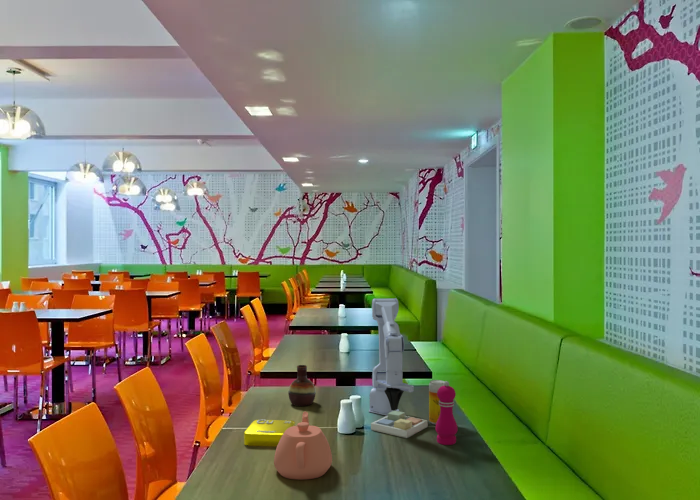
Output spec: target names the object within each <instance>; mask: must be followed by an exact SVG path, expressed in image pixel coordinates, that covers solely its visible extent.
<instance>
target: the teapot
mask: <svg viewBox="0 0 700 500" xmlns="http://www.w3.org/2000/svg"><path fill="white" fill-rule="evenodd" d="M301 418H302V419H301V421H300V422H298V423H297V424H296V425H295V426H292V427H290V428H288V429H287V430H286V431H285V432H284V434H283V435H282V437H281V439H280V441H279V443H278V445H277V447H276V449H275V453H274V457H273V464H274V469H276V471H277V472H278V474H279V475H280V476H282V477H283V478H286V479H289V480H311V479H312V480H313V479H317V478H321V477H322V476H323V475H325V474H326V473H327V472H328V470H329V469H330V467H331V466H332V464H333V455H332V450H331V446H330V443H329V441H328V439H327V437H326V435H325V433H324V432H323V430H322V429H321V428H320V427H319V426H317V425H316V426H315V425H310V423H309V422H310V421H309V412H308V411H303V412H302V416H301Z"/></svg>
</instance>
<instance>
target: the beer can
mask: <svg viewBox="0 0 700 500" xmlns="http://www.w3.org/2000/svg"><path fill="white" fill-rule="evenodd" d="M444 382H445V381H444V380H442V379H441V380H440V379H433V380H430V381H429V384H428V415H429V416H428V422H430V424H432V425H434V426H436V422H437V420H438V418H439V416H440V405H439V400H440V399H439V398H438V396H437V391H438V389H439V388H440V387H441V386H444Z"/></svg>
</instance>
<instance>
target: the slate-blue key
mask: <svg viewBox="0 0 700 500" xmlns="http://www.w3.org/2000/svg"><path fill="white" fill-rule="evenodd" d="M394 422H395V421H393V420H388V419H382V420H380V421H378V422H377V424H381V425H385V426H390V427H391V426H393V425H394Z"/></svg>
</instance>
